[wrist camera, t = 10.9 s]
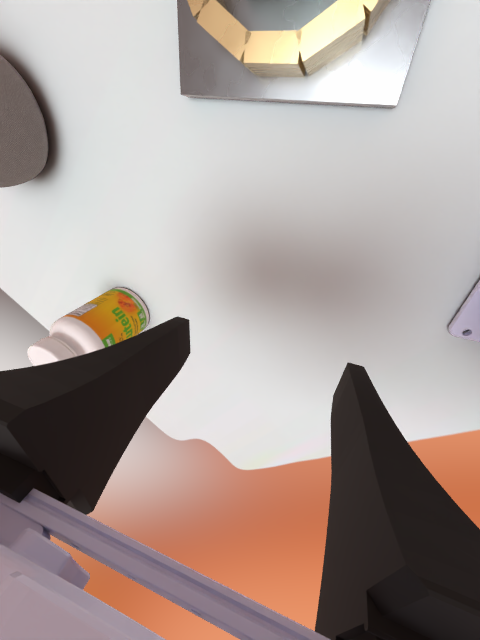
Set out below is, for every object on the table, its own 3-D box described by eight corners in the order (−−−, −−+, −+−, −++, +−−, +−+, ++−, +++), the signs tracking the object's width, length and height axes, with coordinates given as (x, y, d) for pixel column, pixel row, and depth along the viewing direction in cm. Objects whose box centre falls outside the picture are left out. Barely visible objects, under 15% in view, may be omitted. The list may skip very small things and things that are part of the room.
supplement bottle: (158, 328, 28) (87, 393, 20) (123, 330, 30) (47, 389, 23) (136, 283, 26) (47, 337, 18) (100, 289, 28) (7, 339, 20)
